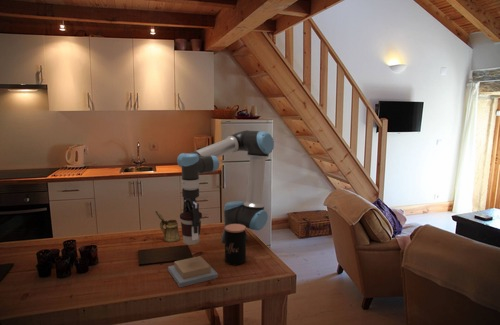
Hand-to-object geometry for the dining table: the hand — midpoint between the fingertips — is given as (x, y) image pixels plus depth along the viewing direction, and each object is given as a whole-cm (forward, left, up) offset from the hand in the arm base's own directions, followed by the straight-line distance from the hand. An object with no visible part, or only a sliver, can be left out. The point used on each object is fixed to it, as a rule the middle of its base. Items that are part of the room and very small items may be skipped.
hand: (191, 236), depth 160 cm
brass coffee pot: (-2, -47, -19) cm, 51 cm away
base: (0, 0, -19) cm, 19 cm away
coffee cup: (0, 0, -3) cm, 3 cm away
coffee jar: (-24, -3, -19) cm, 31 cm away
